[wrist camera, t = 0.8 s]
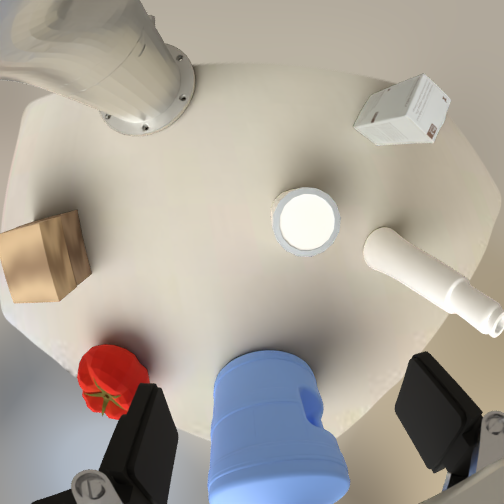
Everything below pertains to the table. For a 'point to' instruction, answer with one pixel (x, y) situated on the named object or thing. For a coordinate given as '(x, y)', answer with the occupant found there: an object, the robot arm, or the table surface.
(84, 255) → the tower base block
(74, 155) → the table surface
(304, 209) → the white cup
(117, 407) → the tomato
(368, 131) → the skincare box
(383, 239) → the cosmetic bottle
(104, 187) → the table surface
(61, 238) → the tower top block
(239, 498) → the water jug
